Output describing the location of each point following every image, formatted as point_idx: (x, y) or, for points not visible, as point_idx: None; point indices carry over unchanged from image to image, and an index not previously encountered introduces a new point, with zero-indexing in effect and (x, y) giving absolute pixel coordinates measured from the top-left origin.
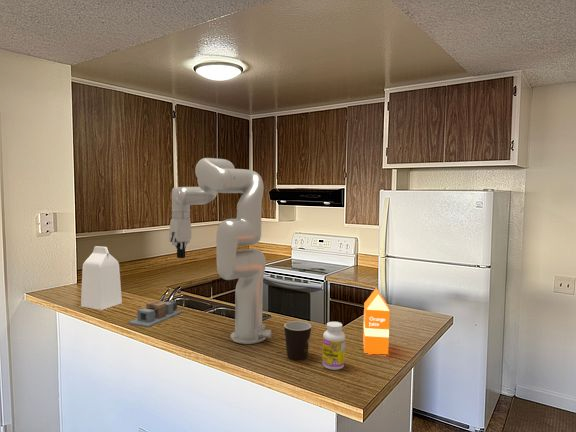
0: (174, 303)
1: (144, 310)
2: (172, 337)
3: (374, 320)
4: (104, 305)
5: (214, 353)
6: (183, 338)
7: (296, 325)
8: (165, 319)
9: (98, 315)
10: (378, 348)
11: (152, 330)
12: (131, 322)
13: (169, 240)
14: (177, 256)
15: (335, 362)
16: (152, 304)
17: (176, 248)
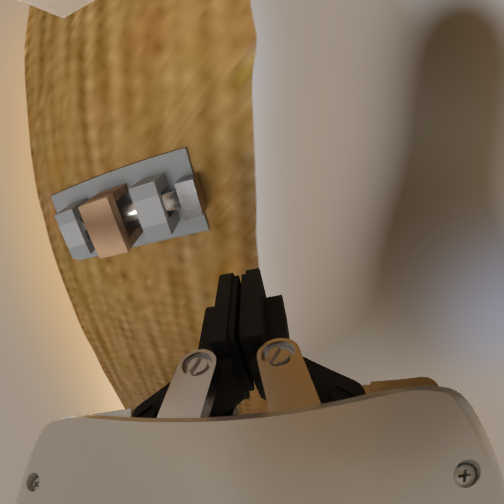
0: (188, 218)
1: (67, 233)
2: (102, 336)
3: None
4: (68, 9)
5: (131, 405)
6: (116, 352)
7: None
8: (134, 245)
9: (34, 69)
10: None
11: (81, 281)
12: (56, 206)
13: (44, 435)
14: (221, 284)
15: None
16: (88, 231)
17: (187, 359)
